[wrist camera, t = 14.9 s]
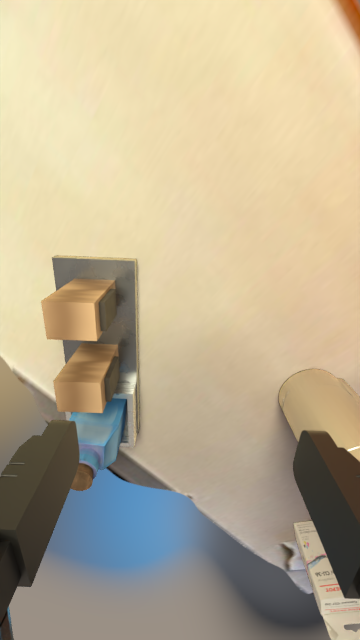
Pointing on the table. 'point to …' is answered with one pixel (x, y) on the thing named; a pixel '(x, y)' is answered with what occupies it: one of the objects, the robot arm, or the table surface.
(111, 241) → the table surface
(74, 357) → the walnut finger rear
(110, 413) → the perfume bottle
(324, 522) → the robot arm
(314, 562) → the ink cartridge box
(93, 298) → the walnut finger front
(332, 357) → the table surface
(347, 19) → the table surface
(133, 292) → the grey rectangular tray
